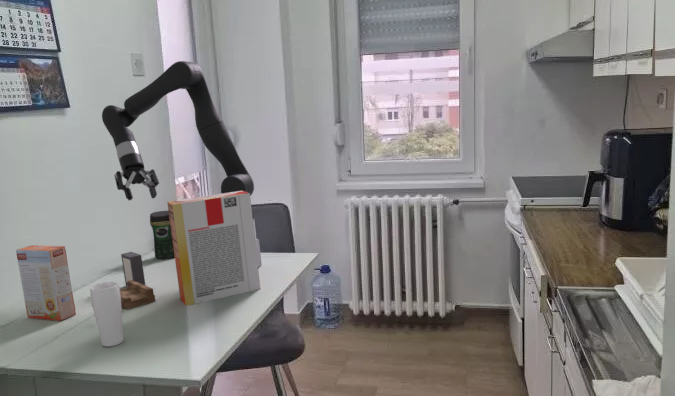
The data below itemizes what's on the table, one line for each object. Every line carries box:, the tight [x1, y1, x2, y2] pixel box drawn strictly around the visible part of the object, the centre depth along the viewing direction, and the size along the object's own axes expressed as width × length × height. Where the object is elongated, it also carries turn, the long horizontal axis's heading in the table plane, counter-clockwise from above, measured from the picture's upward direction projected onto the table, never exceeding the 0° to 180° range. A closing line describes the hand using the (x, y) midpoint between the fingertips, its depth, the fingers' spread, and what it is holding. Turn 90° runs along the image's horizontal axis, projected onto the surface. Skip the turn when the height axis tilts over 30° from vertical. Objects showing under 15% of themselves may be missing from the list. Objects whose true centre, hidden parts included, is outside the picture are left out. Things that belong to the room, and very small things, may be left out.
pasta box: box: [167, 191, 261, 306], centre depth 176 cm, size 23×8×30 cm, turn 116°
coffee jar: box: [149, 210, 175, 260], centre depth 230 cm, size 10×8×19 cm
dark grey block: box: [120, 251, 147, 287], centre depth 193 cm, size 8×4×11 cm, turn 42°
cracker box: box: [15, 244, 77, 322], centre depth 169 cm, size 14×6×21 cm, turn 65°
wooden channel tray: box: [119, 280, 156, 311], centre depth 179 cm, size 16×9×4 cm, turn 42°
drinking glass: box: [89, 281, 125, 348], centre depth 144 cm, size 7×7×15 cm
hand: (142, 198), depth 200 cm, fingers open, 8 cm apart
